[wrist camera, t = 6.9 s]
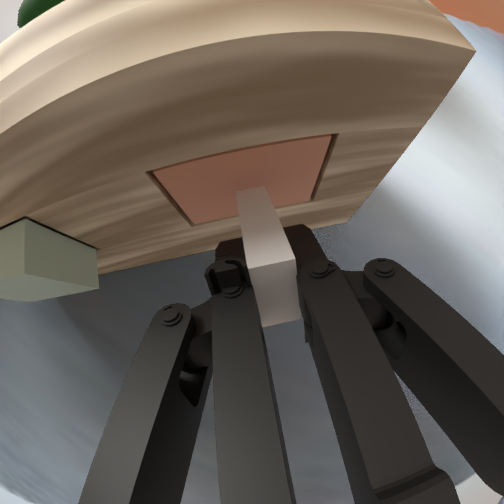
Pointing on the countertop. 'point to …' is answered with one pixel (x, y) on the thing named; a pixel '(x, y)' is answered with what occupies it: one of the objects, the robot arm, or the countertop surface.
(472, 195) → the countertop surface
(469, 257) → the countertop surface
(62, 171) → the block
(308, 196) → the terracotta button
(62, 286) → the sage button
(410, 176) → the countertop surface
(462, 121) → the countertop surface
